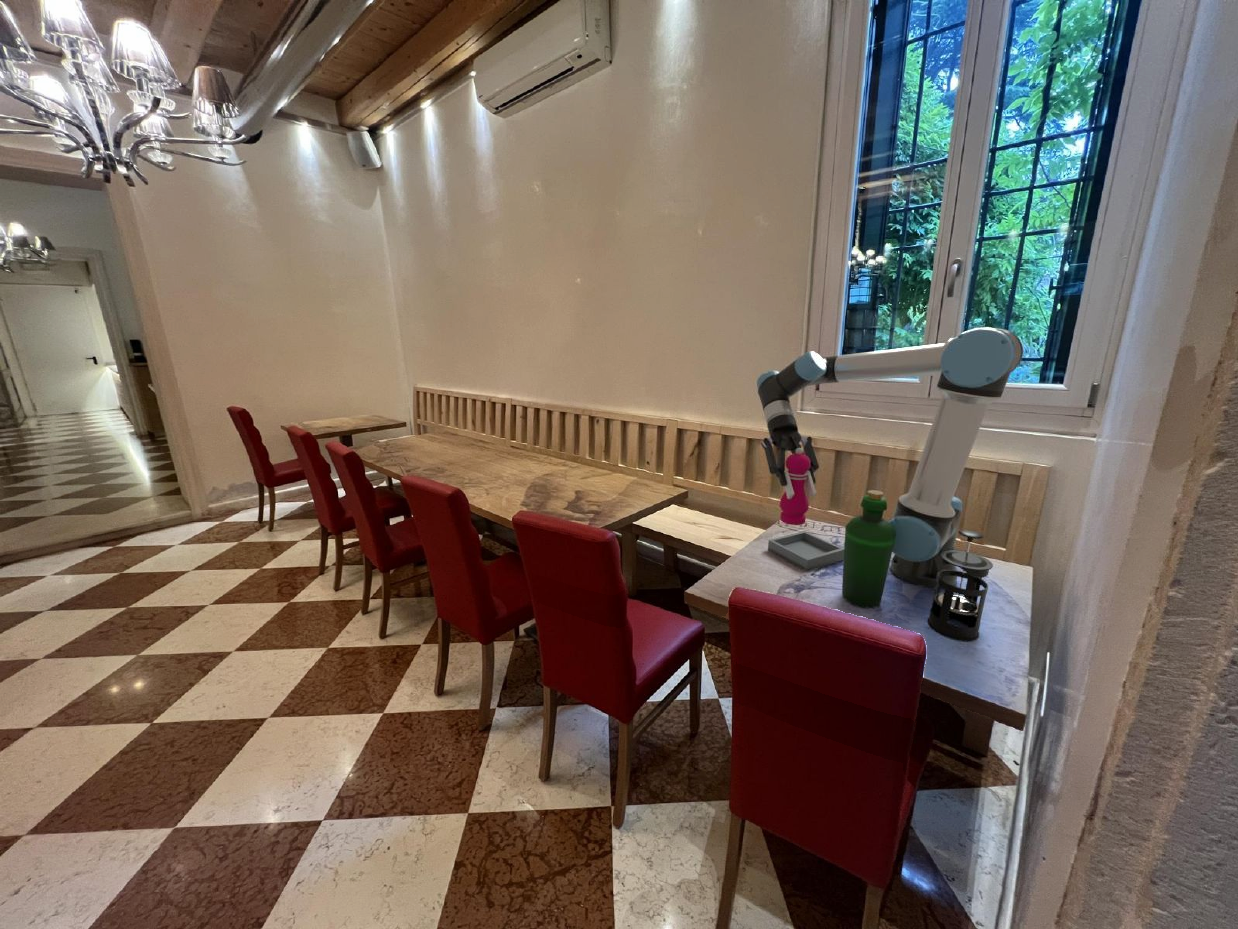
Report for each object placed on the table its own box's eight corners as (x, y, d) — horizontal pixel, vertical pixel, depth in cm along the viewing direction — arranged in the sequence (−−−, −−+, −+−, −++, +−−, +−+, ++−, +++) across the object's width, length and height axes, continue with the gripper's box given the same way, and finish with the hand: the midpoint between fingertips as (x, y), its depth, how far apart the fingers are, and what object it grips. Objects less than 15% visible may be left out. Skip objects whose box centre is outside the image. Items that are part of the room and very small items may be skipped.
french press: (961, 647, 96) (983, 546, 90) (916, 624, 104) (932, 529, 98) (992, 631, 101) (1014, 534, 95) (946, 610, 109) (963, 519, 103)
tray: (844, 560, 134) (845, 549, 133) (806, 571, 128) (807, 560, 127) (803, 541, 147) (804, 531, 146) (767, 550, 141) (768, 540, 140)
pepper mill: (809, 526, 119) (817, 451, 113) (780, 525, 120) (786, 450, 115) (804, 516, 126) (811, 445, 120) (776, 515, 127) (782, 444, 121)
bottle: (883, 593, 116) (899, 488, 109) (888, 616, 107) (905, 502, 100) (836, 585, 121) (849, 483, 113) (837, 606, 111) (850, 496, 104)
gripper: (806, 427, 132) (829, 501, 121) (745, 429, 131) (762, 503, 120) (817, 411, 126) (843, 488, 114) (752, 413, 124) (772, 490, 113)
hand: (801, 496), depth 117 cm, fingers closed on pepper mill, 5 cm apart
